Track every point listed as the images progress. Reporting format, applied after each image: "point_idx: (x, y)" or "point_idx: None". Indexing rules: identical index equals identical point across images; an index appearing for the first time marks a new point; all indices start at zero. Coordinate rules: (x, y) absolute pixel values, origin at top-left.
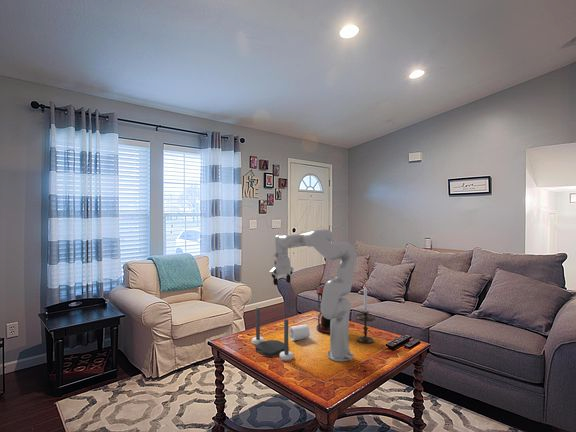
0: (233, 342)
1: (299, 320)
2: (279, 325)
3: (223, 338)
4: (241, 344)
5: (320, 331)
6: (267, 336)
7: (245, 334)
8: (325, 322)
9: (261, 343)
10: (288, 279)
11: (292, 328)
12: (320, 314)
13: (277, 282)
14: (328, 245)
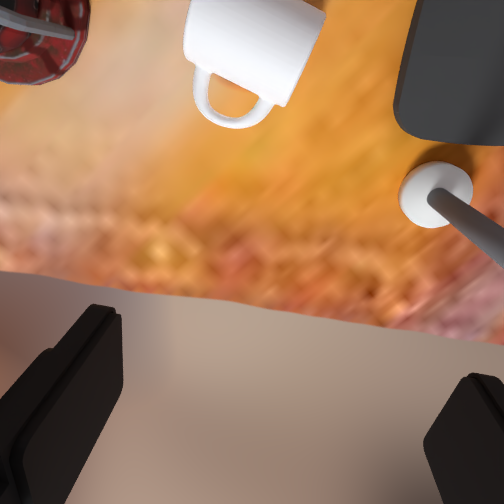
0: (489, 277)
1: (69, 232)
2: (191, 261)
3: (471, 335)
4: None
5: (85, 2)
6: (338, 209)
7: (380, 300)
8: None
9: (492, 132)
10: (86, 391)
11: (313, 44)
12: None
13: (501, 425)
14: None
